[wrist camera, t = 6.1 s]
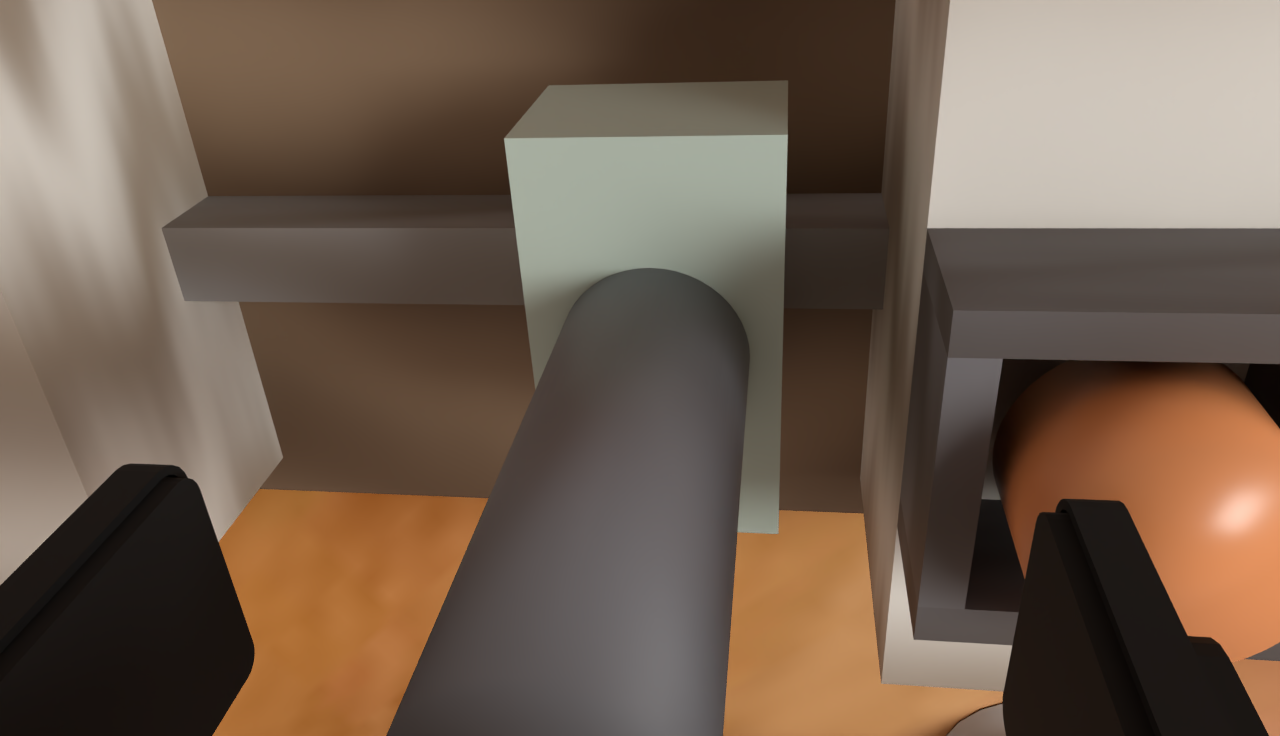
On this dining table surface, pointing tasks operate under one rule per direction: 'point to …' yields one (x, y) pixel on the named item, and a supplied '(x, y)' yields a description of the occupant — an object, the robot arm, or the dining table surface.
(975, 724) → the chalice
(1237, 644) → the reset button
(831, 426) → the rail bed
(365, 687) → the dining table surface
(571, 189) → the carriage
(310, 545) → the dining table surface
